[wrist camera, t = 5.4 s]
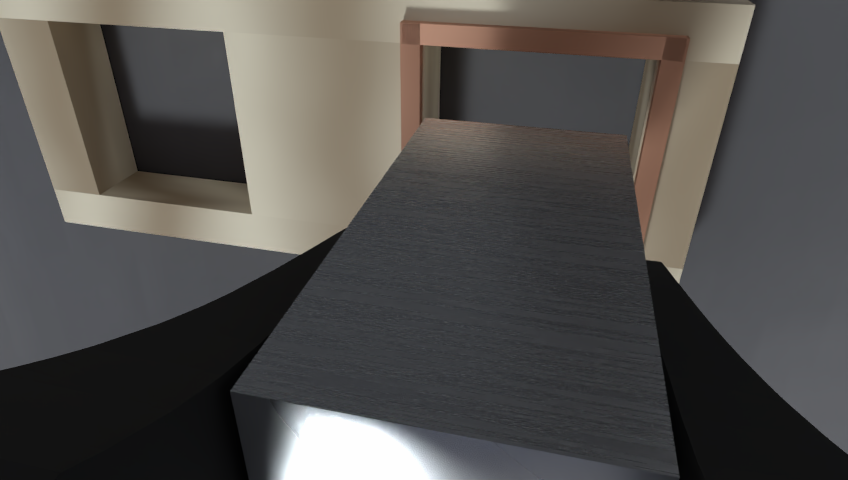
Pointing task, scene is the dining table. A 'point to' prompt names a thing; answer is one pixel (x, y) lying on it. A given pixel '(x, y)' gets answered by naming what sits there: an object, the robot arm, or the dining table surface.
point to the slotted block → (357, 103)
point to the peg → (472, 324)
